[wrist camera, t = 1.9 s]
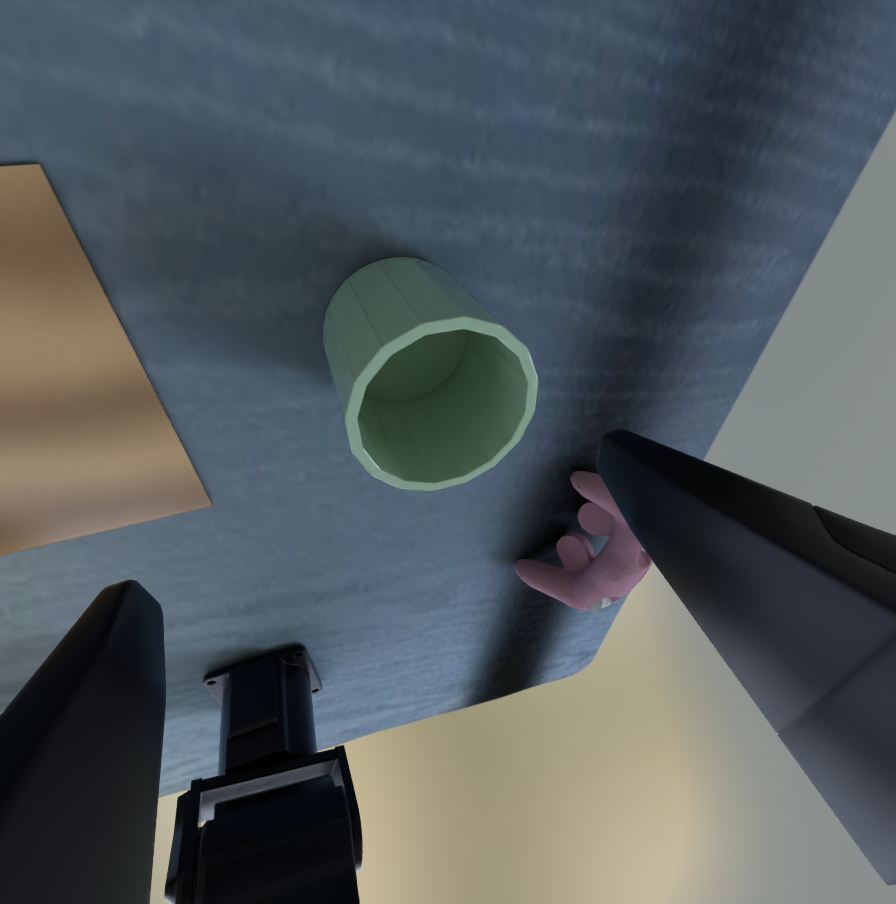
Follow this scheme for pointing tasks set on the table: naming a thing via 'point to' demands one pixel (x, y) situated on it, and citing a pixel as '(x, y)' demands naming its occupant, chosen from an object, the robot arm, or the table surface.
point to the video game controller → (591, 554)
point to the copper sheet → (72, 390)
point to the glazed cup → (424, 375)
